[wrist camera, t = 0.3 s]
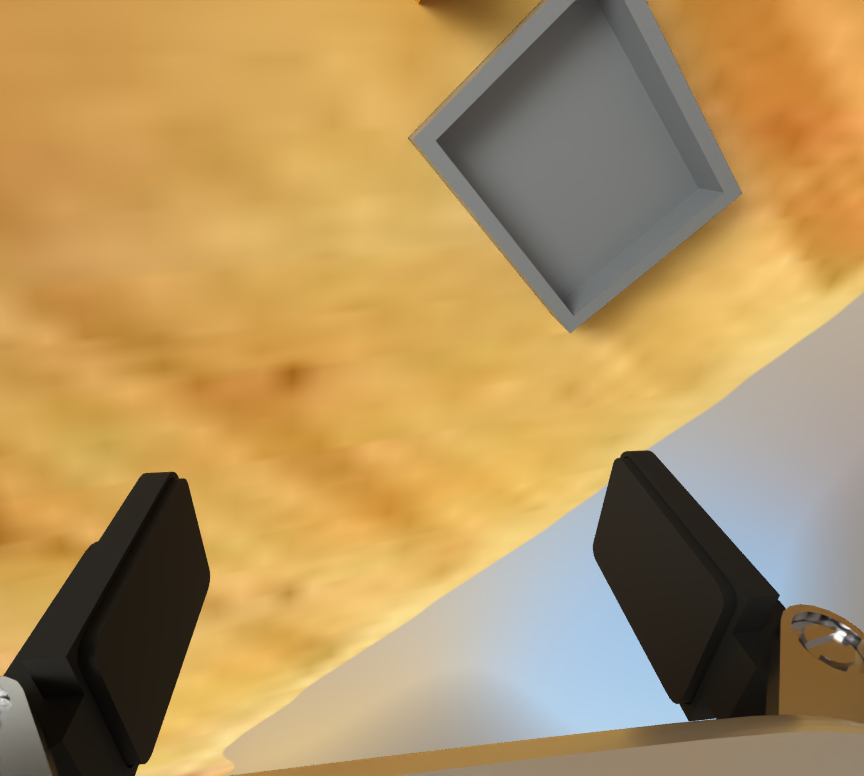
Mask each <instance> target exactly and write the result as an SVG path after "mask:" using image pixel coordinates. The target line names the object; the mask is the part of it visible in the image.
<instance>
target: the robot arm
mask: <svg viewBox="0 0 864 776" xmlns="http://www.w3.org/2000/svg"><path fill="white" fill-rule="evenodd" d="M593 552H594V557H595V559H596V562H597V563H598V565H599V567H600V569H601V571H602V573H603V575H604V577H605V579H606V580H607V582H608V584H609V586H610V588H611V590H612V592H613V593H614V595H615V597H616V599H617V601H618V603H619V605H620V607H621V608H622V610H623V612H624V614H625V616H626V618H627V620H628V622H629V623H630V625H631V627H632V629H633V631H634V633H635V635H636V637H637V638H638V640H639V642H640V644H641V646H642V648H643V650H644V651H645V653H646V655H647V657H648V659H649V661H650V662H651V665H652V666H653V668H654V670H655V672H656V674H657V676H658V677H659V679H660V681H661V683H662V685H663V687H664V689H665V691H666V693H667V694H668V696H669V698H670V699H671V700H672V701H673V702H674V703H676V704H680V706H681V708H682V710H683V711H684V713H685V715H686V717H687V719H688V721H693V722H682V723H672V724H663V725H654V726H645V727H636V728H627V729H619V730H609V731H601V732H591V733H582V734H573V735H565V736H555V737H547V738H538V739H530V740H521V741H512V742H504V743H496V744H487V745H478V746H470V747H461V748H453V749H445V750H436V751H427V752H419V753H410V754H403V755H395V756H385V757H377V758H369V759H361V760H352V761H344V762H336V763H328V764H321V765H312V766H304V767H296V768H288V769H279V770H271V771H263V772H255V773H248V774H240V775H232V776H864V633H863V632H862V631H861V630H860V629H859V628H857V627H856V626H855V625H853V624H852V623H850V622H849V621H847V620H846V619H844V618H842V617H841V616H839V615H837V614H835V613H833V612H831V611H828V610H825V609H822V608H819V607H816V606H811V605H802V604H799V605H794V606H790V607H788V608H787V609H785V607H784V606H783V605H782V604H781V603H780V601H779V600H778V598H779V596H780V595H779V594H778V593H777V591H776V590H775V589H774V588H773V587H772V586H771V585H770V584H769V582H768V581H767V580H766V579H765V578H764V577H763V576H762V575H761V574H760V572H759V571H758V570H757V569H756V568H755V567H754V566H753V565H752V563H751V562H750V561H749V560H748V559H747V558H746V557H745V555H744V554H742V552H741V551H740V550H739V549H738V548H737V547H736V545H735V544H734V543H733V542H732V541H731V540H730V539H729V537H728V536H727V535H726V534H725V533H724V532H723V531H722V530H721V528H720V527H719V526H718V525H717V524H716V523H715V522H714V521H713V520H712V518H711V517H710V516H709V515H708V514H707V513H706V512H705V510H704V509H703V508H702V507H701V506H700V505H699V504H698V503H697V501H696V500H694V498H693V497H692V496H691V495H690V494H689V492H688V491H687V490H686V489H685V488H684V487H683V486H682V485H681V483H680V482H679V481H678V480H677V479H676V478H675V477H674V476H673V474H672V473H671V472H670V471H669V470H668V469H667V468H666V467H665V465H664V464H663V463H662V462H661V461H660V460H659V459H658V458H657V456H656V455H655V454H654V453H653V452H651V451H626V452H623V453H622V455H621V457H620V458H617V459H616V460H615V461H614V463H613V467H612V471H611V475H610V479H609V483H608V487H607V491H606V495H605V499H604V503H603V507H602V511H601V515H600V519H599V523H598V527H597V531H596V535H595V539H594V543H593ZM209 582H210V570H209V566H208V562H207V558H206V554H205V550H204V546H203V542H202V538H201V534H200V530H199V526H198V522H197V518H196V514H195V510H194V506H193V502H192V498H191V494H190V490H189V486H188V483H187V480H186V479H184V478H183V479H179V478H178V475H177V474H176V473H175V472H159V473H145V474H142V476H141V477H140V478H139V479H138V481H137V483H136V484H135V486H134V487H133V489H132V490H131V492H130V493H129V495H128V496H127V498H126V500H125V501H124V503H123V504H122V506H121V507H120V509H119V510H118V512H117V514H116V515H115V517H114V518H113V520H112V521H111V523H110V524H109V526H108V527H107V529H106V531H105V532H104V534H103V535H102V537H101V538H100V540H99V541H98V542H95V543H94V544H92V545H91V546H90V547H89V548H88V549H87V550H86V551H85V553H84V554H83V556H82V557H81V559H80V560H79V562H78V564H77V565H76V567H75V568H74V570H73V571H72V573H71V574H70V576H69V577H68V579H67V580H66V582H65V583H64V585H63V586H62V588H61V589H60V591H59V592H58V594H57V595H56V597H55V598H54V600H53V601H52V603H51V604H50V606H49V607H48V609H47V610H46V612H45V613H44V615H43V616H42V618H41V619H40V621H39V623H38V624H37V626H36V627H35V629H34V630H33V632H32V633H31V635H30V636H29V638H28V639H27V641H26V642H25V644H24V645H23V647H22V648H21V650H20V651H19V653H18V654H17V656H16V657H15V659H14V660H13V662H12V663H11V665H10V666H9V668H8V669H7V671H6V672H5V674H4V675H3V676H2V677H0V776H135V774H136V771H137V768H138V765H139V764H146V763H147V762H148V760H149V759H150V757H151V754H152V752H153V749H154V746H155V743H156V740H157V738H158V735H159V732H160V729H161V726H162V723H163V720H164V717H165V714H166V711H167V708H168V705H169V702H170V699H171V696H172V694H173V691H174V688H175V685H176V682H177V679H178V676H179V673H180V670H181V667H182V664H183V661H184V658H185V655H186V652H187V649H188V647H189V644H190V641H191V638H192V635H193V632H194V629H195V626H196V623H197V620H198V617H199V614H200V611H201V608H202V605H203V603H204V600H205V597H206V594H207V591H208V587H209ZM715 717H716V719H715V720H705V719H714V718H715ZM696 720H704V721H696Z"/></svg>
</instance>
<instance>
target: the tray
mask: <svg viewBox="0 0 864 776" xmlns="http://www.w3.org/2000/svg"><path fill="white" fill-rule="evenodd" d="M408 139H409V140H410V141H411V142H412V144H413V145H414V146H415V147H416V148H417V150H418V151H419V152H420V153H421V155H422V156H423V157H424V158H425V160H426V161H427V162H428V163H429V164H430V166H431V167H432V168H433V169H434V171H435V172H436V173H437V174H438V175H439V177H440V178H441V179H442V180H443V182H444V183H445V184H446V185H447V187H448V188H449V189H450V190H451V191H452V193H453V194H454V195H455V196H456V198H457V199H458V200H459V201H460V203H461V204H462V205H463V206H464V207H465V209H466V210H467V211H468V212H469V214H470V215H471V216H472V217H473V218H474V220H475V221H476V222H477V223H478V225H479V226H480V227H481V228H482V230H483V231H484V232H485V233H486V234H487V236H488V237H489V238H490V239H491V241H492V242H493V243H494V244H495V245H496V247H497V248H498V249H499V250H500V252H501V253H502V254H503V255H504V257H505V258H506V259H507V260H508V261H509V263H510V264H511V265H512V266H513V268H514V269H515V270H516V271H517V273H518V274H519V275H520V276H521V277H522V279H523V280H524V281H525V282H526V284H527V285H528V286H529V287H530V288H531V290H532V291H533V292H534V293H535V295H536V296H537V297H538V298H539V300H540V301H541V302H542V303H543V304H544V306H545V307H546V308H547V309H548V311H549V312H550V313H551V314H552V315H553V317H554V318H555V319H556V320H557V321H558V322H559V323H560V324H561V325H562V326H563V327H564V328H565V329H566V330H567V331H568V332H569V333H571V332H573V331H574V330H575V329H576V328H577V327H579V326H580V325H581V324H582V323H584V322H585V321H586V320H587V319H589V318H590V317H591V316H592V315H593V314H595V313H596V312H597V311H598V310H600V309H601V308H602V307H603V306H605V305H606V304H607V303H608V302H609V301H611V300H612V299H613V298H614V297H616V296H617V295H618V294H619V293H621V292H622V291H623V290H624V289H625V288H627V287H628V286H629V285H630V284H632V283H633V282H634V281H635V280H637V279H638V278H639V277H640V276H642V275H643V274H644V273H645V272H646V271H648V270H649V269H650V268H651V267H653V266H654V265H655V264H656V263H658V262H659V261H660V260H661V259H662V258H664V257H665V256H666V255H667V254H669V253H670V252H671V251H672V250H674V249H675V248H676V247H677V246H678V245H680V244H681V243H682V242H683V241H685V240H686V239H687V238H688V237H690V236H691V235H692V234H693V233H694V232H696V231H697V230H698V229H699V228H701V227H702V226H703V225H704V224H706V223H707V222H708V221H709V220H711V219H712V218H713V217H714V216H715V215H717V214H718V213H719V212H720V211H722V210H723V209H724V208H725V207H727V206H728V205H729V204H730V203H731V202H733V201H734V200H735V199H736V198H738V197H739V196H740V195H741V194H742V192H741V190H740V188H739V186H738V184H737V182H736V180H735V178H734V176H733V174H732V172H731V170H730V168H729V166H728V164H727V162H726V160H725V158H724V156H723V154H722V152H721V150H720V148H719V146H718V144H717V142H716V140H715V138H714V136H713V134H712V132H711V130H710V128H709V126H708V124H707V122H706V120H705V118H704V116H703V114H702V112H701V110H700V108H699V106H698V104H697V102H696V100H695V98H694V96H693V94H692V92H691V90H690V88H689V86H688V84H687V82H686V80H685V78H684V76H683V74H682V72H681V70H680V68H679V66H678V64H677V62H676V60H675V58H674V56H673V54H672V52H671V50H670V48H669V46H668V44H667V42H666V40H665V38H664V36H663V34H662V32H661V30H660V28H659V26H658V24H657V22H656V20H655V18H654V16H653V14H652V12H651V10H650V8H649V6H648V4H647V2H646V0H542V1H541V2H540V3H539V4H538V5H537V6H536V7H535V8H534V9H533V10H532V11H531V12H530V13H529V15H528V16H527V17H526V18H525V19H524V20H523V21H522V22H521V23H520V24H519V25H518V26H517V27H516V28H515V29H514V30H513V31H512V32H511V33H510V34H509V35H508V36H507V37H506V38H505V39H504V40H503V41H502V42H501V43H500V44H499V45H498V46H497V47H496V48H495V49H494V50H493V51H492V52H491V53H490V55H489V56H488V57H487V58H486V59H485V60H484V61H483V62H482V63H481V64H480V65H479V66H478V67H477V68H476V69H475V70H474V71H473V72H472V73H471V74H470V75H469V76H468V77H467V78H466V79H465V80H464V81H463V82H462V83H461V84H460V85H459V86H458V87H457V88H456V89H455V90H454V91H453V92H452V93H451V95H450V96H449V97H448V98H447V99H446V100H445V101H444V102H443V103H442V104H441V105H440V106H439V107H438V108H437V109H436V110H435V111H434V112H433V113H432V114H431V115H430V116H429V117H428V118H427V119H426V120H425V121H424V122H423V123H422V124H421V125H420V126H419V127H418V128H417V129H416V130H415V131H414V132H413V133H412V135H411V136H410V137H409V138H408Z"/></svg>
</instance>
